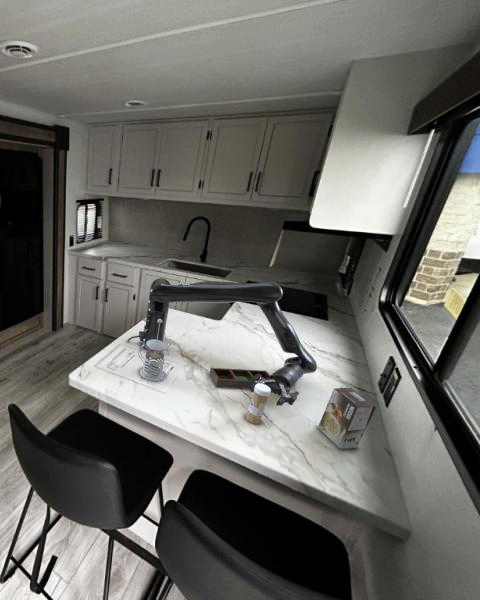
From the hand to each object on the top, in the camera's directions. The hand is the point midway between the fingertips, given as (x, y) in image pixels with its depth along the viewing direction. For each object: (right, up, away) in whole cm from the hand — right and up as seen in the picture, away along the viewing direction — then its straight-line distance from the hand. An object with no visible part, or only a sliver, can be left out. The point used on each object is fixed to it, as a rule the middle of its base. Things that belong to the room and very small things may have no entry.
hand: (264, 396), depth 107 cm
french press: (-34, +2, +23) cm, 41 cm away
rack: (+2, 0, +20) cm, 20 cm away
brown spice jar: (-4, -8, +1) cm, 9 cm away
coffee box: (+20, -12, -5) cm, 24 cm away
